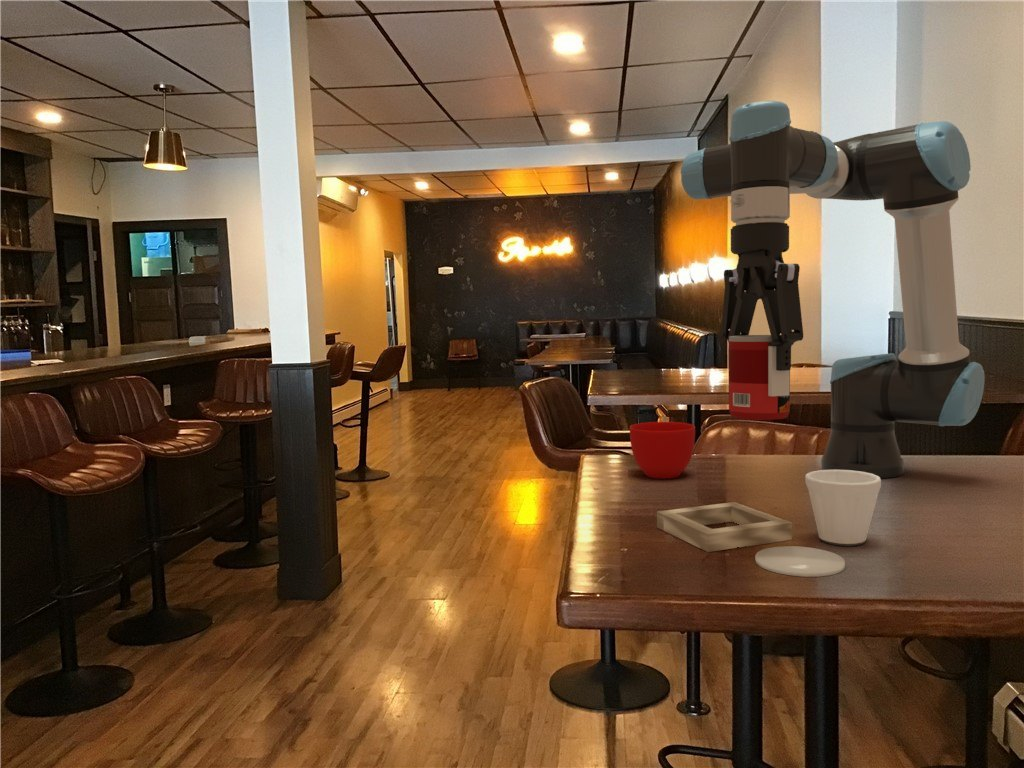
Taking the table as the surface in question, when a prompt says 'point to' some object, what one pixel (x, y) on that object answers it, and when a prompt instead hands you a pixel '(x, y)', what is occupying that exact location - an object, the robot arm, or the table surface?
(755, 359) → the canned food
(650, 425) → the ceramic cup
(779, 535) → the holder
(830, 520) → the cup
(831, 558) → the coaster
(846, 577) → the table surface
